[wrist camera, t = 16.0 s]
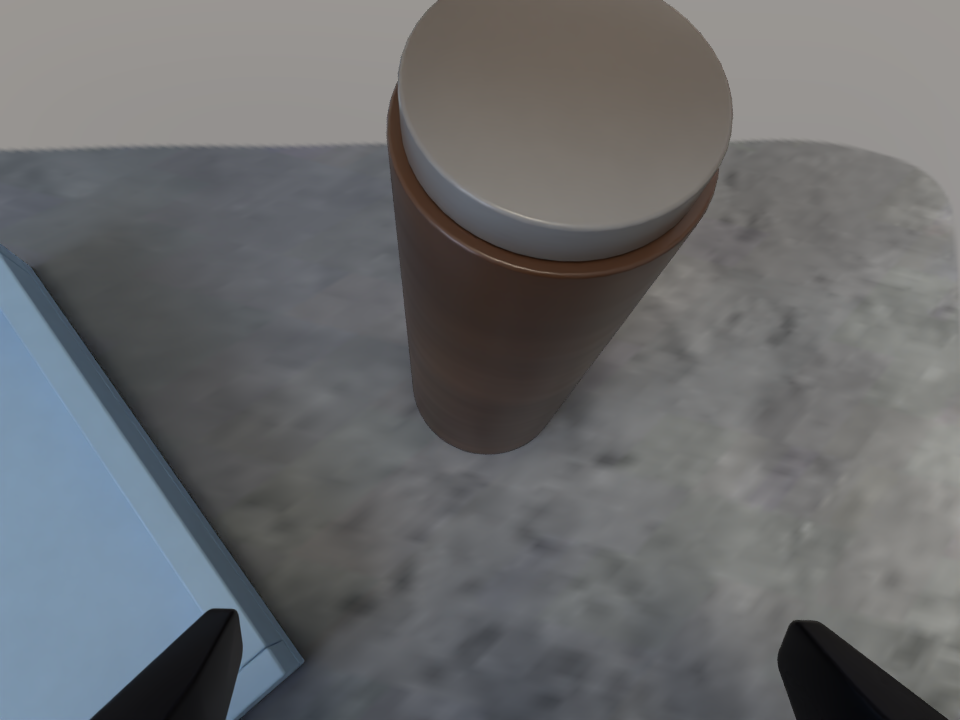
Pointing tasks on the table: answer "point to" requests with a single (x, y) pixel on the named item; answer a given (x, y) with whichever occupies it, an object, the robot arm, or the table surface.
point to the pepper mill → (541, 194)
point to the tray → (98, 532)
